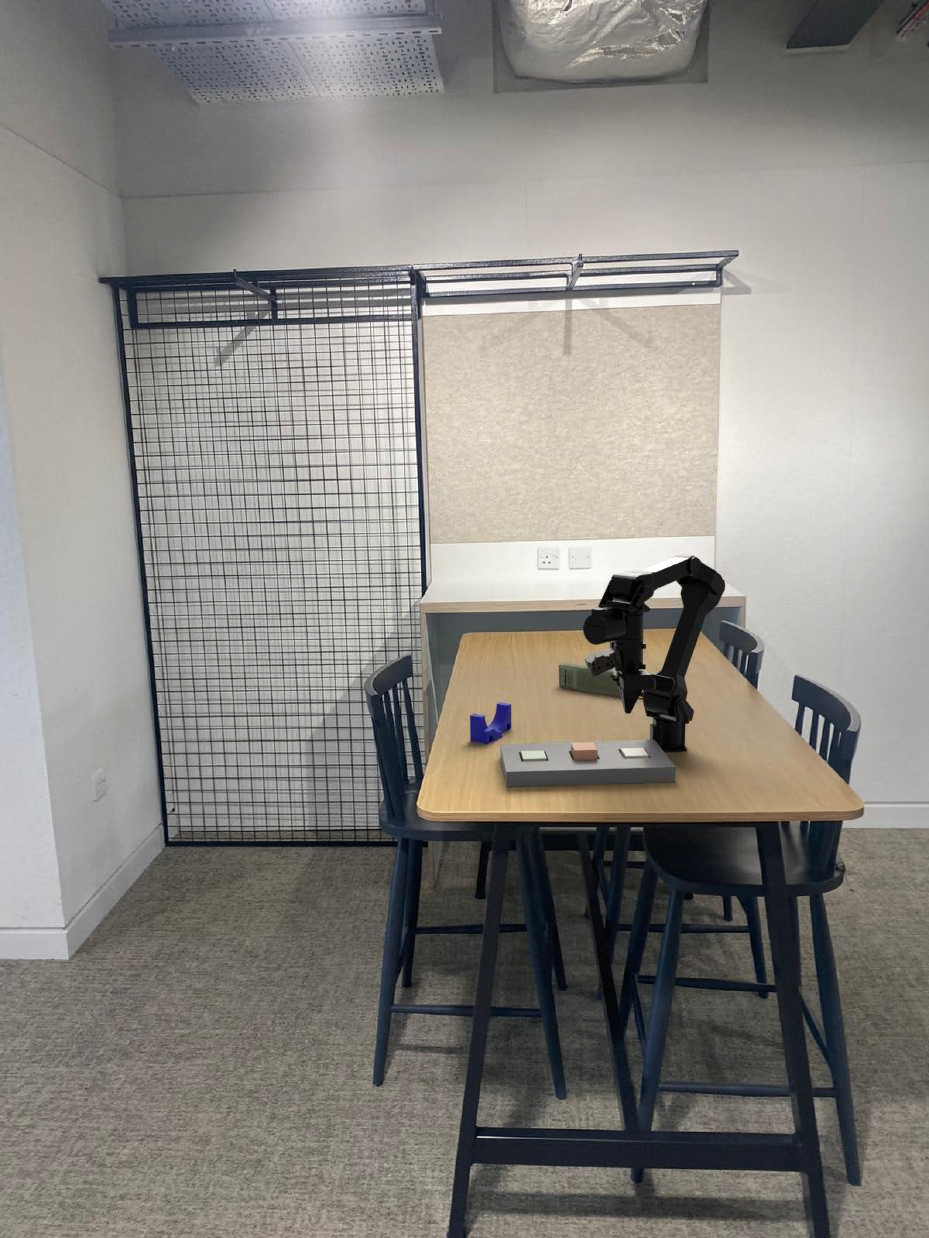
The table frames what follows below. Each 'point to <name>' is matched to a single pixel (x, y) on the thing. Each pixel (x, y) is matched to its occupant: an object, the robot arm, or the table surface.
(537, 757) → the sage key
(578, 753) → the peach square block
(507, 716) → the cable clip
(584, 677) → the handheld radio
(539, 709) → the table surface
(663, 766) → the keypad
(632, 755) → the cream key
